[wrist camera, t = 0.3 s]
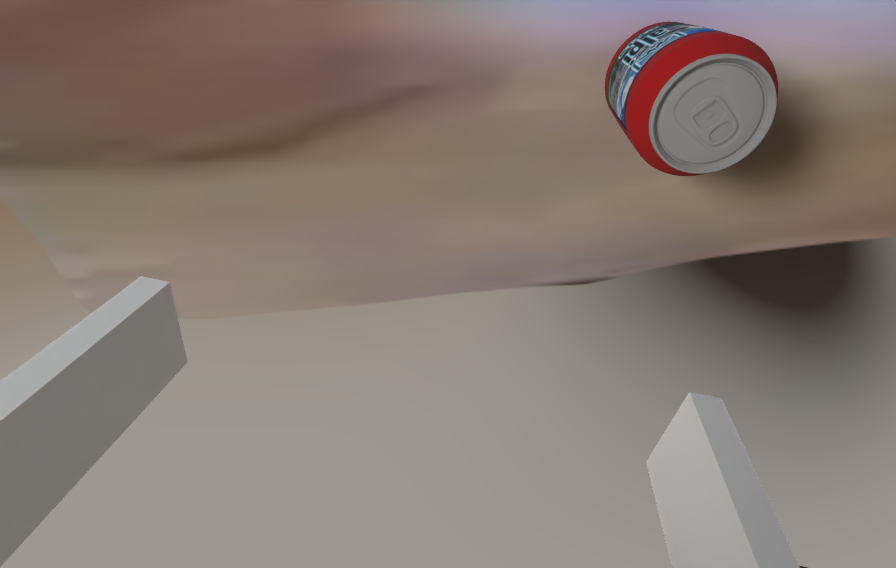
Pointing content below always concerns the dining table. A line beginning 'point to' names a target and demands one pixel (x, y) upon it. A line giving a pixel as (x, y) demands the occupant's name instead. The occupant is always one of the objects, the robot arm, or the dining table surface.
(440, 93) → the dining table surface
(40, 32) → the dining table surface
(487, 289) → the dining table surface
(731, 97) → the beverage can
